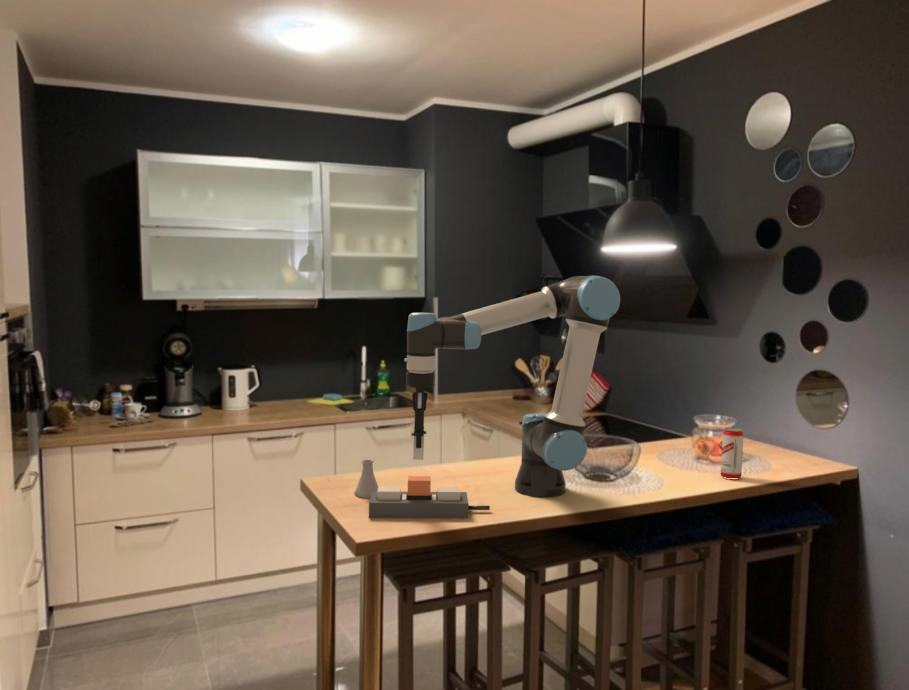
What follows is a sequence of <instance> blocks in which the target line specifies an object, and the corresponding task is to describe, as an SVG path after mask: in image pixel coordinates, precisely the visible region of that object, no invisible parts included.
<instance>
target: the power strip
mask: <svg viewBox="0 0 909 690" xmlns="http://www.w3.org/2000/svg"><path fill="white" fill-rule="evenodd" d="M490 509H491V506H490V505H469V497H468V492H467V491H461V497H460V500H438V491H430V496H424V495H408V491H401V500H377V491H372V493H371V497H370V498H369V501H368V518H369V519H469V511H490Z"/></svg>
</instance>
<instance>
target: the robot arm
mask: <svg viewBox="0 0 909 690" xmlns="http://www.w3.org/2000/svg"><path fill="white" fill-rule="evenodd" d="M620 304H621V294H620V291H619V289H618V287H617V285H616V284H615V283H614V281H612V280H611V279H609V278H607V277H604V276H601V275H576V276H572V277H568V278H566V279H564V280H560V281H559V282H555V283H553V284H550V285H546V286H543V287H542V290H541V291H537V292H534V293H531V294H527V295H523V296H520V297H519V296H518V297H517V298H512V299H509V300H506V301H501V302H500V303H498V302H497V303H495V304H491V305H487V306H484V307H481V308H477V309H474V310H473V309H472V310H469V311H467V312H464V313H463V312H462V313H460V314H456V315H451V316H443V317H440V318H437V314H436V313H434V312H411V313H410V314H409V315H408V318H407V319H408V320H407V326H406V327H407V329H406V358H404V360H403V361H404V362H405V363H406V370H407V371H406V373H405V375H406V376H405V384H406V386H407V387H410V388H415V391H413V392H412V398H411V399H412V410H413V411H414V427H413V429H414V430H413V432H411V437H413V450H412V451H413V452H412V453H413V455H412V456H413V457H412V460H413V461H415V460H416V461H420V460H421V461H424V453H425V452H424V449H425V448H424V446H425V435H427V430H425V411H427V401H428V392H427V391H426V392H425V389H426V388H427V389H428V388H432V387H434V386H435V383H436V382H435V376H436V375H435V374H436V373H435V372H434V371H435V370H436V351H437V350H442V349H443V350H445V349H447V350H466V351H468V350H476V349H478V348H479V347H480V345H481V341H482V336H483V335H487V334H490V333H493V332H497V331H498V332H499V331H501V330H505V329H508V328H513V327H515V326H519V325H522V324H526V323H529V322H530V323H531V322H532V321H533V322H534V321H536V320H539V319H542V318H543V319H544V318H547V317H548V318H550V319H556V318H560V317H565V322H566V324H568V327H569V328H568V333H567V338H566V341H565V346H564V350H563V356H562V360H561V365H560V369H559V374H558V378H557V379H558V380H557V382H556V383H557V384H556V388H555V391H554V396H553V402H552V406H551V410H550V411H549V412H547V413H546V412H542V413H541V412H539V413H538V412H537V413H527V414H525V415H523V416H522V422H521V423H522V424H521V463H520V466H519V469H518V471H517V475H516V477H515V481H514V490H515V491H516V492H518V493H519V494H520V493H521V494H523V495H527V496H531V497H532V496H533V497H541V498H543V497H545V498H546V497H549V498H550V497H555V496H561V495H563V494H565V493H566V491H567V489H566V488H567V487H566V486H567V484H566V480H565V476H564V473H563V471H564V472H565V471H570V470H574V469H575V468H577V467H578V466H579V465H580V464H582V462H584V459H585V458H586V455H587V452H588V445H587V442H586V440H585V438H584V435H585V430H586V423H585V421H584V420H583V412H584V407H585V403H586V400H587V396H588V389H589V387H590V381H591V377H592V372H593V367H594V363H595V359H596V355H597V350H598V345H599V341H600V337H601V334H602V333H603V332H605V331H606V330H607V329H608V326H609V322H610V318H612V317H613V316H614V315H616V313H617V311H618V310H619V308H620Z"/></svg>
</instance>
